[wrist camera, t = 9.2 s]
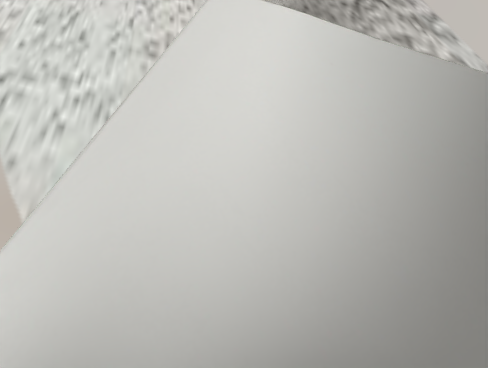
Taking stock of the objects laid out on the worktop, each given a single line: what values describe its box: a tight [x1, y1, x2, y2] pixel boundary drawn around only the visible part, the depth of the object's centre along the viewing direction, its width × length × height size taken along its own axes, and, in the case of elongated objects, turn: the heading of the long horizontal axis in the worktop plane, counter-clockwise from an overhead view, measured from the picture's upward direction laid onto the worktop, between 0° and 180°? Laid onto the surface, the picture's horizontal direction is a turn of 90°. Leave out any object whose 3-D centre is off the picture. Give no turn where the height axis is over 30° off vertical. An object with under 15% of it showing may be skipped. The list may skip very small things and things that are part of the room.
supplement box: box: [0, 0, 488, 368], centre depth 12 cm, size 9×9×15 cm
